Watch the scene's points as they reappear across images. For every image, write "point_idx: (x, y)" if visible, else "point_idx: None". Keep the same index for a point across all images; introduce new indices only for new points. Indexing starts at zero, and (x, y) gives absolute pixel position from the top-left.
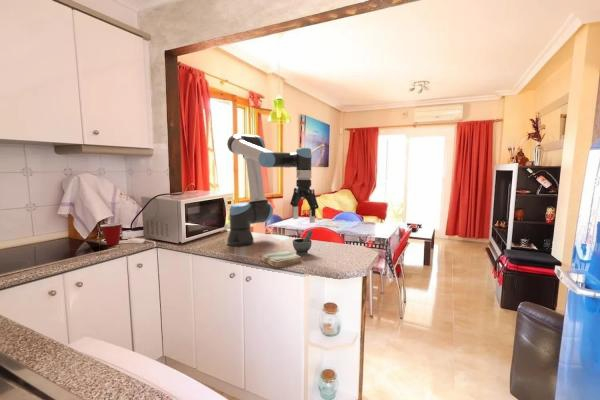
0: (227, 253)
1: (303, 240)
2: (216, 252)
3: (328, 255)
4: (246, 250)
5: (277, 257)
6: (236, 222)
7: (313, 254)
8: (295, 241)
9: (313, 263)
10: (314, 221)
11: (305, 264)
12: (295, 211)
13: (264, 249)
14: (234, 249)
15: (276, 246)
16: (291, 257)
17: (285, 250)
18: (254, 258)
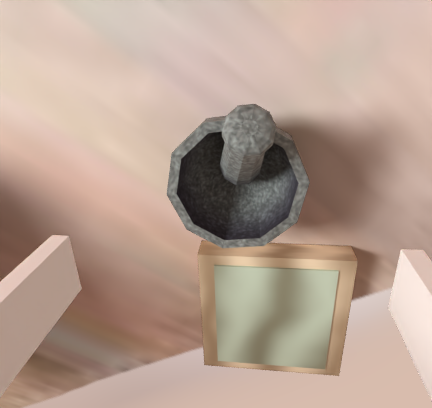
0: (66, 383)
1: (229, 170)
2: (38, 400)
3: (385, 37)
4: None
5: (291, 345)
6: None
7: (297, 110)
8: (186, 201)
9: (417, 215)
10: (426, 261)
11: (396, 253)
12: (19, 345)
13: None
14: None
15: (41, 188)
16: (333, 302)
17: (210, 256)
18: (178, 352)
